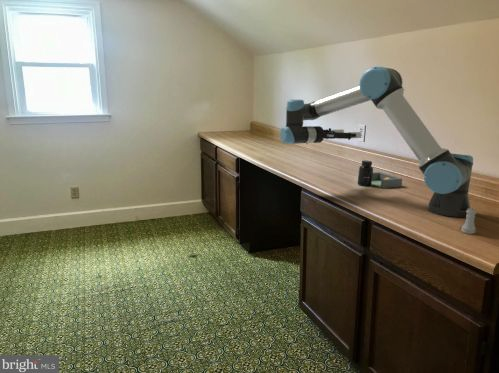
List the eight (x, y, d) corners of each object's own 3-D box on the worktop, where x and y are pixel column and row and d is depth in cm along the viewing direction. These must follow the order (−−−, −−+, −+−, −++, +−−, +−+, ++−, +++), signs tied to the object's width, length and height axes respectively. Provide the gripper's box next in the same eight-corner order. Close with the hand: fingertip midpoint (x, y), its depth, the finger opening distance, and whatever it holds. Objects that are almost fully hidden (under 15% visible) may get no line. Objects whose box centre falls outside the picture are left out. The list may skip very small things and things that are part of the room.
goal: (382, 188, 199) (383, 180, 198) (360, 180, 214) (361, 173, 213) (401, 186, 203) (402, 178, 202) (378, 179, 218) (379, 172, 217)
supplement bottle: (364, 187, 200) (367, 162, 197) (354, 184, 206) (356, 160, 203) (374, 185, 204) (377, 161, 201) (364, 182, 209) (366, 159, 207)
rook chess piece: (458, 229, 141) (461, 207, 139) (472, 230, 140) (475, 207, 139) (463, 233, 137) (467, 210, 135) (477, 234, 136) (481, 211, 134)
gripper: (299, 139, 200) (336, 138, 208) (327, 146, 177) (367, 144, 185) (299, 124, 198) (337, 123, 206) (328, 128, 176) (368, 127, 183)
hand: (351, 133), depth 196 cm, fingers open, 13 cm apart
